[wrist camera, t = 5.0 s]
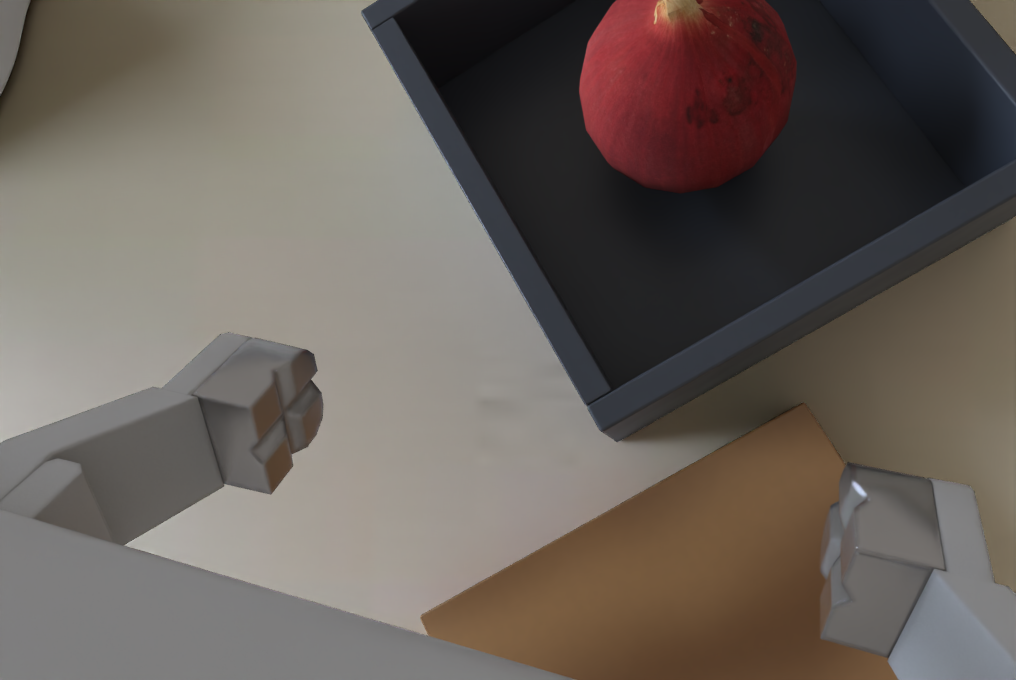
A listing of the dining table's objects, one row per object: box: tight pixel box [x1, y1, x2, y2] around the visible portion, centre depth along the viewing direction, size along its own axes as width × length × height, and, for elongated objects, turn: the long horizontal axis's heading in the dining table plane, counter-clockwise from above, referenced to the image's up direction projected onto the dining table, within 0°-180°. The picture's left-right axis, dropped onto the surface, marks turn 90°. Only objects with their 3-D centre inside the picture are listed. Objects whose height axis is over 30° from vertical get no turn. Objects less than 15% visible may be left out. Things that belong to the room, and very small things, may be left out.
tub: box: [361, 0, 1016, 442], centre depth 24 cm, size 15×14×5 cm
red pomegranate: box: [579, 0, 797, 193], centre depth 22 cm, size 6×6×8 cm
